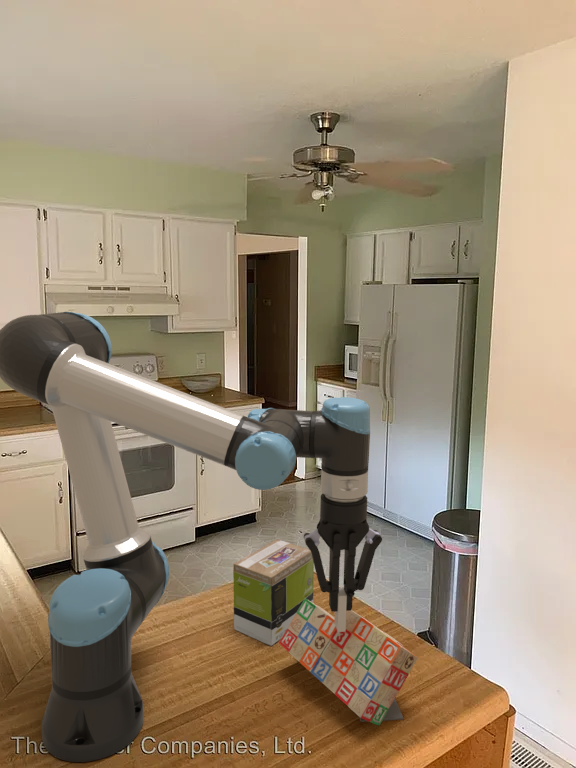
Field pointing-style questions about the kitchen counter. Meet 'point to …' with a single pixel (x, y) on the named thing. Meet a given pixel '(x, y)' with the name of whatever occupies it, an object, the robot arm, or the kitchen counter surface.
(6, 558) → the kitchen counter surface
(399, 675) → the stack of blocks
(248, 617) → the tea box
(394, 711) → the rubber pad
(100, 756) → the robot arm
